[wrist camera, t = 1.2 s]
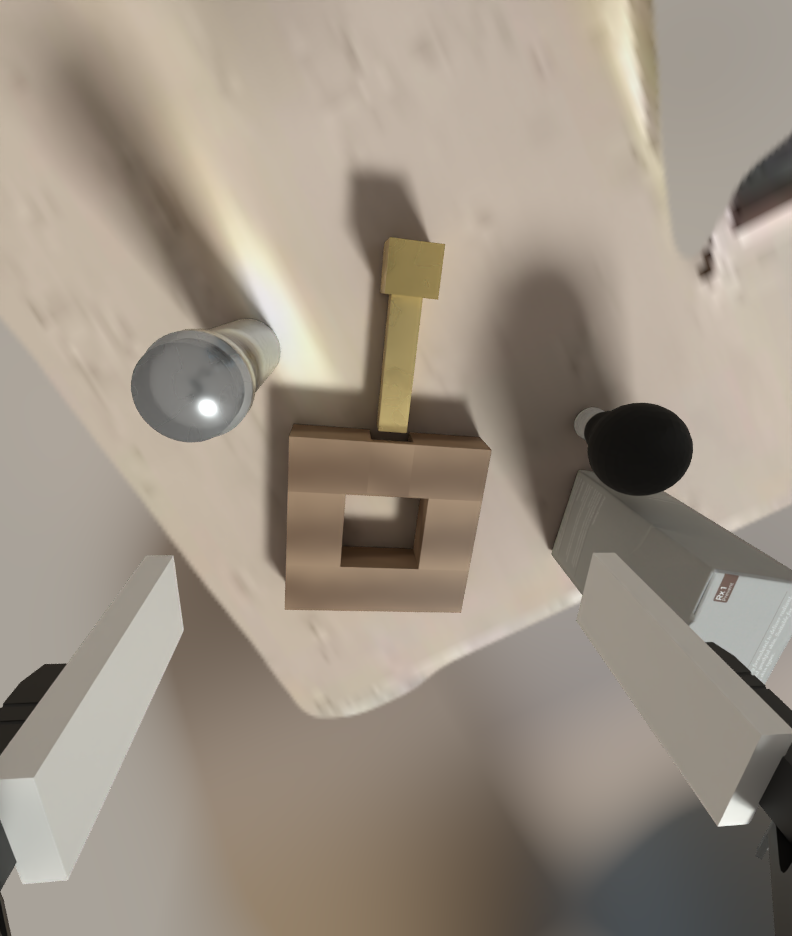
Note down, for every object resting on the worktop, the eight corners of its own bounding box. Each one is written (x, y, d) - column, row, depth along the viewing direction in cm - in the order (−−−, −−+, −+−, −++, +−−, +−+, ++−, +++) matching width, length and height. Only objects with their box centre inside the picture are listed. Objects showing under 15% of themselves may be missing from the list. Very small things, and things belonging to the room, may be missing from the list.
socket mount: (293, 424, 33) (289, 436, 31) (479, 437, 35) (491, 450, 33) (288, 586, 38) (284, 609, 36) (452, 590, 40) (460, 612, 38)
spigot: (213, 310, 30) (116, 328, 17) (285, 317, 31) (244, 340, 18) (215, 380, 32) (129, 445, 19) (284, 386, 32) (245, 452, 19)
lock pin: (384, 242, 30) (389, 237, 26) (433, 249, 30) (445, 244, 27) (368, 423, 34) (371, 439, 30) (411, 426, 34) (419, 442, 31)
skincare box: (613, 561, 41) (763, 713, 26) (539, 552, 40) (653, 706, 25) (649, 473, 38) (840, 590, 24) (570, 461, 37) (720, 576, 22)
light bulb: (607, 458, 37) (695, 515, 28) (539, 451, 36) (606, 508, 27) (630, 386, 35) (732, 422, 26) (558, 377, 34) (637, 411, 25)
